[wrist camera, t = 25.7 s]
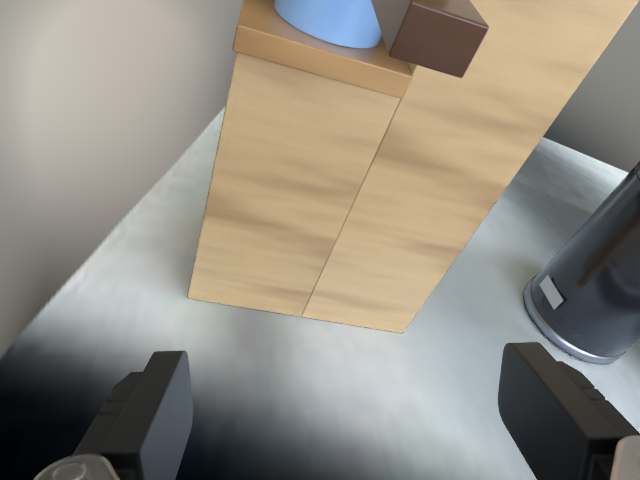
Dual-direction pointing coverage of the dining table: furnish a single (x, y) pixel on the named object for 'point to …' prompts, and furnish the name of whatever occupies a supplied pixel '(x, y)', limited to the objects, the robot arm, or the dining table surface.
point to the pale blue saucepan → (395, 28)
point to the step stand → (376, 158)
